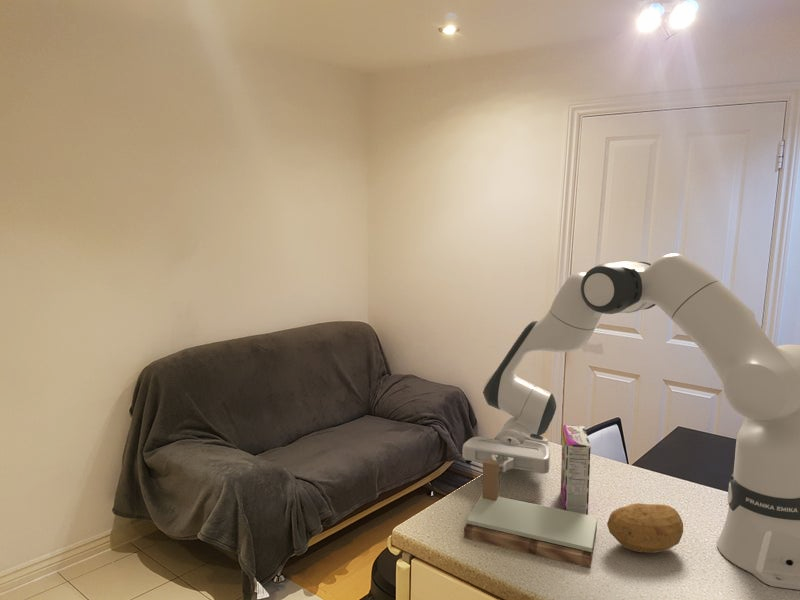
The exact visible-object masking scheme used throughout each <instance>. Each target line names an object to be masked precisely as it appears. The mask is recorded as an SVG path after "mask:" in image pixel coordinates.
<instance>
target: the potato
mask: <svg viewBox="0 0 800 600" xmlns="http://www.w3.org/2000/svg"><path fill="white" fill-rule="evenodd" d="M606 525H607V529H608V531H609V534H610V535H611V536H612V537H614V540H615V539H616V541H617V542H618V543H619V544H621V545H622V546H623V547H624V548H626V549H629V550H631V551H633V552H638V553H662V552H664V551H667V550H669V549H671V548H674V547H675V546H677V545H678V544H679V543H680V541H681V539H682V536H683V533H684V522H683V521H682V517H681V516H680V513H679V512H678V511H677V510H676V508H674V507H672V506H670V505H666V504H653V503H652V504H648V503H637V502H636V503H633V504H628V505H626V506H621V507H619V508H617V509H614V510H613V511H612V512H611V513H610V514H609V518H608V520H607V523H606Z"/></svg>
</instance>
